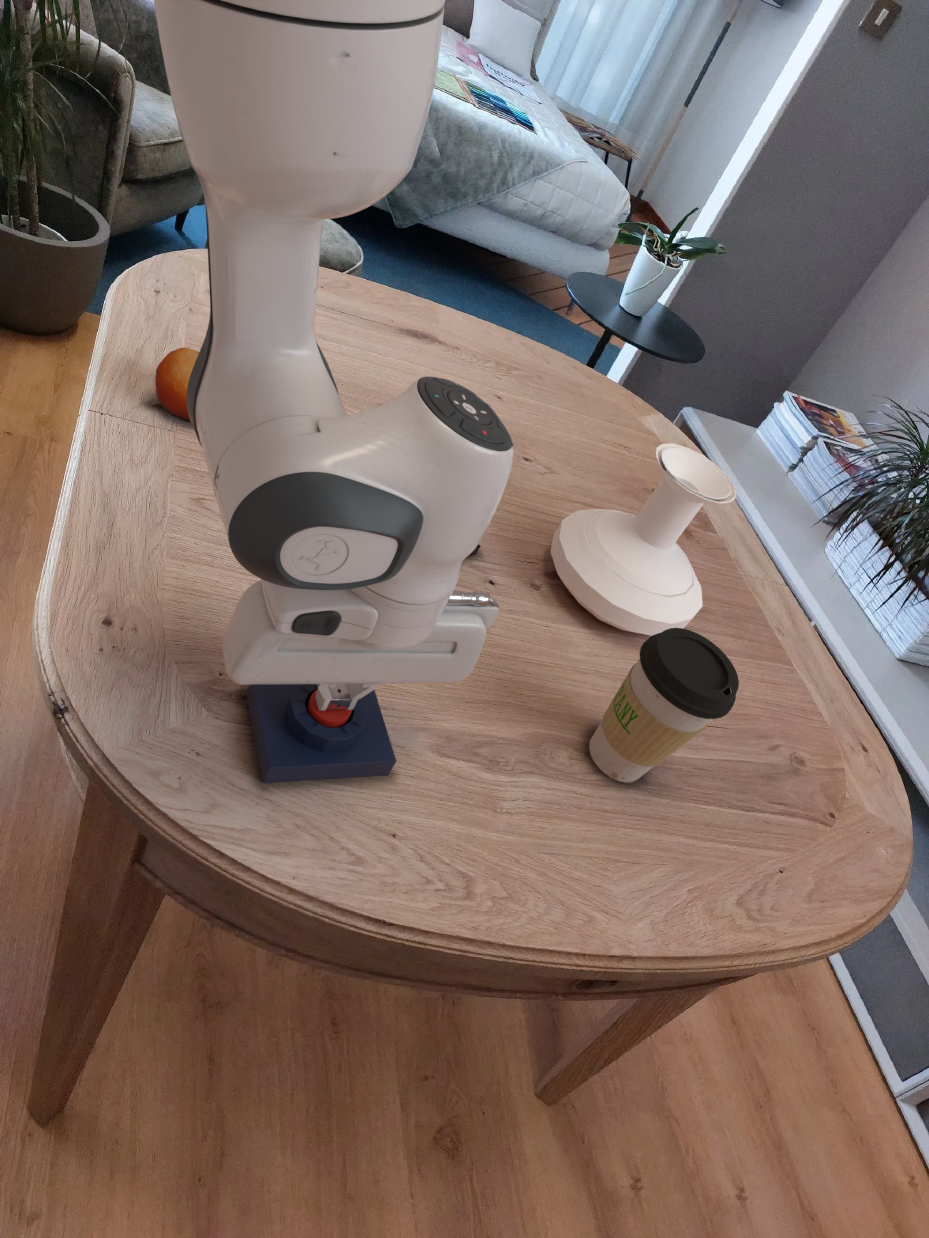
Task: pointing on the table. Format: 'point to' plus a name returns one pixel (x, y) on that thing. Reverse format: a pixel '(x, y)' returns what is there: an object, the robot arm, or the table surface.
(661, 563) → the candle holder
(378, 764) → the control block
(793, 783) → the table surface
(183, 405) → the fruit
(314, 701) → the button
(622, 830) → the table surface
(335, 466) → the robot arm
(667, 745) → the coffee cup
